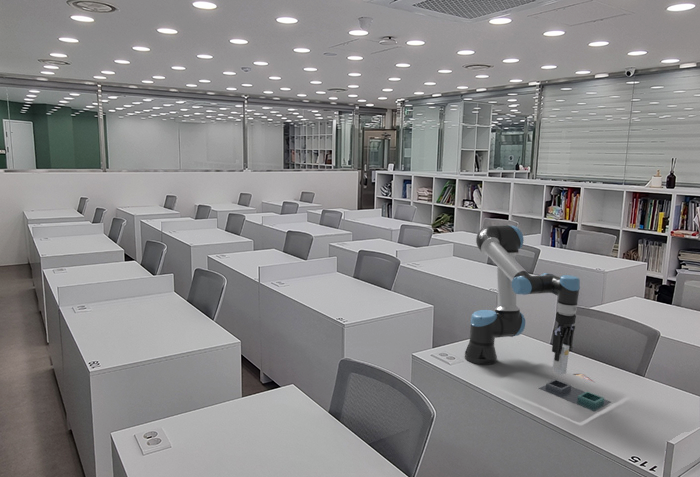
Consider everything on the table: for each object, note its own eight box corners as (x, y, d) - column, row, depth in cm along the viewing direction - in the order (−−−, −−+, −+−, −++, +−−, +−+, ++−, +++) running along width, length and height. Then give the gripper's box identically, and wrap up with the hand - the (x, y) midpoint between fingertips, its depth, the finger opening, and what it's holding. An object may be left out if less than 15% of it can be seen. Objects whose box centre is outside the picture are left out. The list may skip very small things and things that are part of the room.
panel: (538, 390, 218) (538, 383, 217) (555, 382, 226) (556, 376, 226) (593, 413, 199) (594, 406, 199) (611, 404, 208) (611, 397, 207)
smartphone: (588, 391, 220) (567, 376, 235) (603, 389, 222) (581, 375, 236) (588, 389, 220) (567, 374, 235) (603, 387, 222) (582, 373, 236)
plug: (552, 371, 218) (555, 344, 216) (557, 369, 220) (560, 342, 218) (562, 375, 214) (565, 348, 212) (567, 373, 217) (570, 346, 214)
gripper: (563, 319, 205) (557, 374, 209) (585, 312, 215) (578, 364, 219) (546, 313, 210) (540, 367, 215) (568, 307, 221) (562, 358, 225)
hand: (559, 366), depth 217 cm, fingers closed on plug, 4 cm apart
